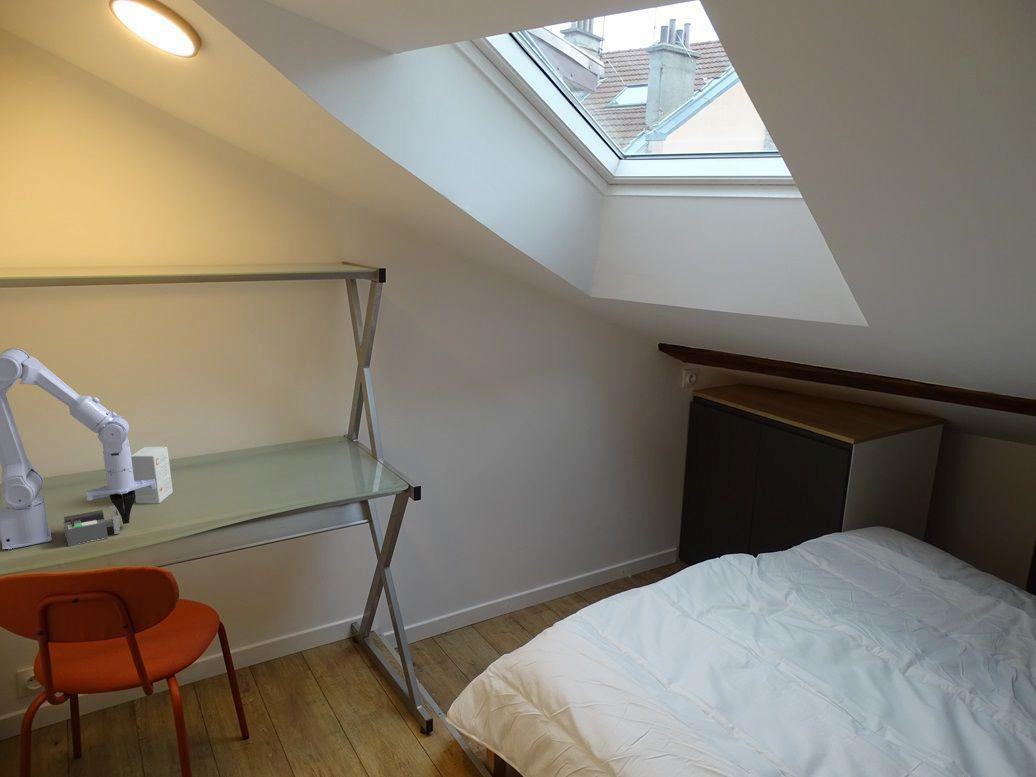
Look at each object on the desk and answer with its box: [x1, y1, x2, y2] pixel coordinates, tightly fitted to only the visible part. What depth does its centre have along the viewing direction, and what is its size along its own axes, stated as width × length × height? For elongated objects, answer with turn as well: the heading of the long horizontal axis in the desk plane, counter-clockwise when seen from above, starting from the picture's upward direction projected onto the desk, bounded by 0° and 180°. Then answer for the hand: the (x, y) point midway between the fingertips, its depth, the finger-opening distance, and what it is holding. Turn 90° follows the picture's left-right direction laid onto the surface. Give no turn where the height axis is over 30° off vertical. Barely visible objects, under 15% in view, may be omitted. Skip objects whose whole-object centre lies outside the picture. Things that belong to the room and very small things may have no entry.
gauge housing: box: [63, 509, 109, 547], centre depth 180 cm, size 8×9×4 cm
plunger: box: [63, 505, 121, 541], centre depth 181 cm, size 11×8×4 cm
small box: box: [131, 446, 174, 505], centre depth 203 cm, size 8×6×13 cm
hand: (125, 522), depth 185 cm, fingers closed
